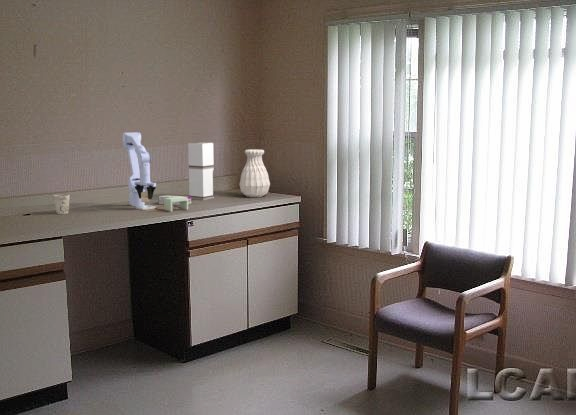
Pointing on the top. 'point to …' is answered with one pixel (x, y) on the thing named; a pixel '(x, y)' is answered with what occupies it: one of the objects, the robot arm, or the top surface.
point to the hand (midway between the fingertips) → (145, 198)
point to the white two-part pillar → (201, 170)
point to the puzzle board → (162, 209)
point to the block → (144, 197)
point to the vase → (254, 175)
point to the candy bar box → (161, 201)
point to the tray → (145, 207)
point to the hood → (175, 199)
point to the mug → (62, 203)
